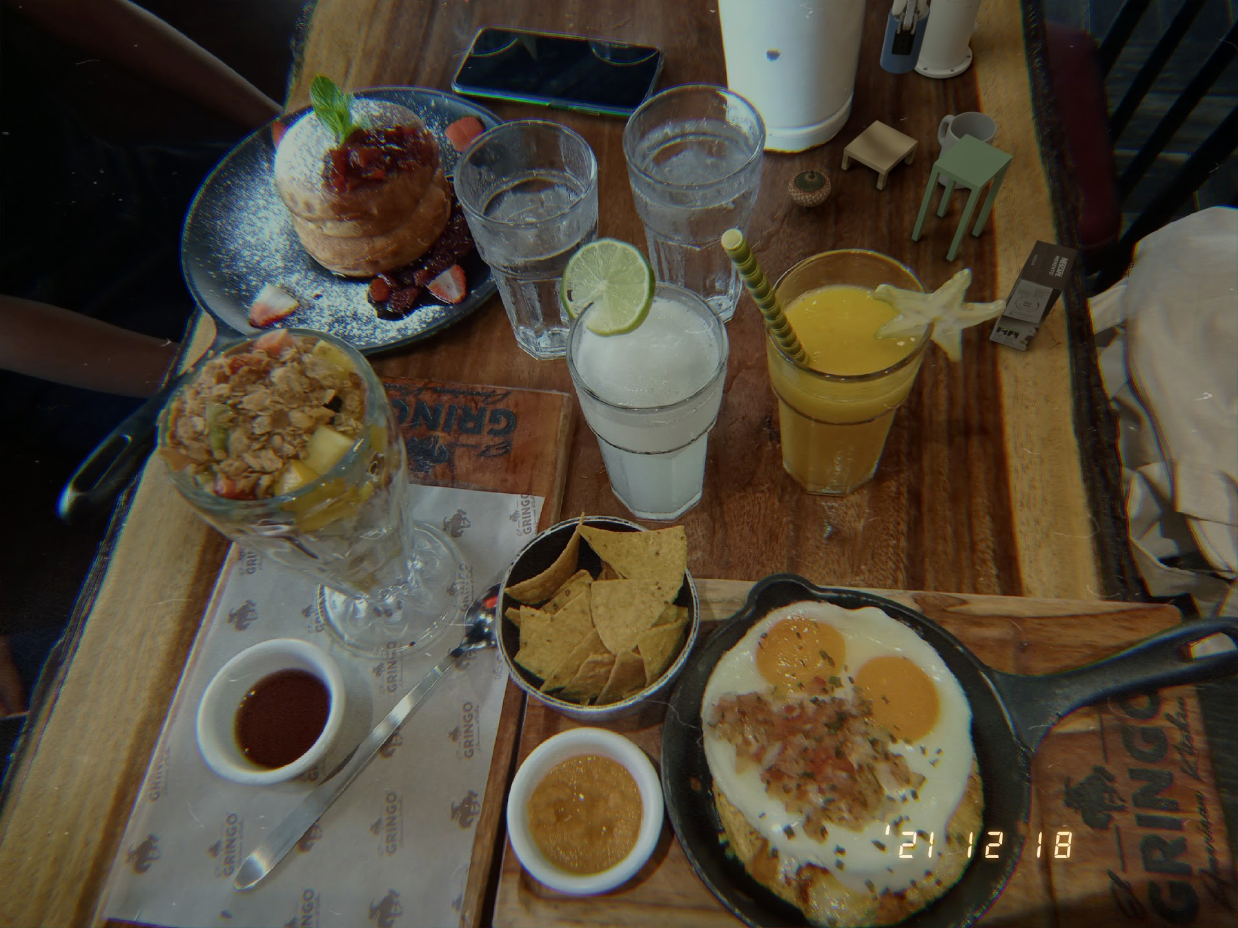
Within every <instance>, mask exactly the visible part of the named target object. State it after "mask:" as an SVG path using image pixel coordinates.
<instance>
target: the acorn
mask: <svg viewBox="0 0 1238 928" xmlns="http://www.w3.org/2000/svg"><path fill="white" fill-rule="evenodd" d="M831 183H832V182H831V180H830V178H829V177H828V176H827V175H826V174H824V173H823V172H821V171H819V170H815V169H811V170H809V169H808V170H807V169H806V170H802V171H798V172H796V173H795V174H794V175H793V176H792V177H791V178H790V180H789V181H788V185H787V194H788V196H789V198H790V199H791V200H792V201H793V202H794V204H796V205H798V206H799V207H803V212H807V211H809V210H810V209H811V208H813V207H817V206H818V205H821V204H822V203H823V202H825V201H826V200H827V198H828V197H829V195H830V194H831V191H832V184H831Z"/></svg>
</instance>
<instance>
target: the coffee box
mask: <svg viewBox="0 0 1238 928" xmlns="http://www.w3.org/2000/svg"><path fill="white" fill-rule="evenodd" d="M1078 252H1079V251H1078V250H1077V249H1075V248H1071V247H1067V246H1063V245H1059V244H1055V243H1051V242H1050V243H1049V242H1047V241H1042V240H1040V239H1036V241H1035V243H1034V244H1033V247H1032V248H1031V250H1030V252H1029V254H1028V256H1027V258H1026V260H1025V262H1024V264H1023V266H1022V268H1021V270H1020V271H1019V274H1018V276H1017V278H1016V279H1015V282H1014V284H1013V286H1012V288H1011V290H1010V291H1009V294H1008V296H1007V297H1006V300H1005V301H1006V309H1005V310H1004V312H1003V313H1002V314H1001V315H1000V314H999V315H1000V316H999V315H998V318H997V320H996V322H995V324H994V326H993V329H992V332H991V335H990V336H989V341H992V342H995V343H998V344H1001V345H1004V346H1007V347H1011V348H1014V349H1016V350H1019V351H1023V352H1025V351H1026V350H1027V349H1028V347H1029V346H1030V345H1031V344H1032V343H1031V342H1032V341H1033V340H1034V338H1035V336H1036V335H1037V333H1038V331H1039V330H1040V328H1041V327H1042V325H1043V323H1044V322H1045V320H1046V319H1047V317H1048V315H1049V314H1050V312H1051V311H1052V310H1053V307H1054V306H1055V305H1056V303H1057V301H1058V299H1059V298H1060V296H1061V295H1062V293H1063V292H1064V291H1065V288H1066V286H1067V282H1068V280H1069V277H1070V275H1071V270H1072V268H1073V266H1074V262H1075V260H1076V258H1077V255H1078Z"/></svg>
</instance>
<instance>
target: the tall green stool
mask: <svg viewBox="0 0 1238 928" xmlns="http://www.w3.org/2000/svg"><path fill="white" fill-rule="evenodd" d="M1013 158H1014V156H1013V155H1012V154H1009V153H1007V152H1005V151H1004V150H1001V149H999V148H997V147H996V146H993V145H989V144H987V143H985V142H983V141H981V140H979V139H977V138H975V137H973V136H970V135H968V134H966V135H964V136H963V137H962V138H961V139H960V140H959V141H958V142H957V143H956V144H955V145H954V146H952V147H951V148H950V149H949V150H948V151H947V152H946V153H945V154H944V155H943V156H942V157H940V158H939V157H938V159H937V160H936V161H935V162H934V163H933V164H932V168H931V172H930V175H929V179H928V181H927V184H926V185H927V186H926V189H925V192H924V196H923V199H922V202H921V204H920V208H919V211H918V215H917V218H916V222H915V224H914V229H913V231H912V235H911V240H913V241H915V242H918V240H920V238H921V236H922V233H923V230H924V226H925V223H926V221H927V218H928V215H929V212H930V208H931V205H932V202H933V198H934V196H935V191H936V190H937V186H938V183H939V181H938V180H939V177H940V174H943V175H945V176H947V177H949V179H948V182H947V185H946V186H945V188H944V190H943V195H942V198H941V200H940V204H939V205H938V206H939V207H938V210H937V212H936V215H937V216H939V217H940V218H943V217H944V216H945V215H946V214H947V212H948V208H949V206H950V203H951V201H952V197H953V195H954V194H953V193H954V191H955V189H954V188H955V185H956V183H957V182H958V183H960V184H962V185H964V186H966V187H967V189H970V190H971V192H970V194H969V197H968V200H967V202H966V205H965V208H964V210H963V213H962V215H961V219H960V221H959V223H958V226H957V229H956V230H955V231H956V232H955V233H954V237H953V239H952V242H951V245H950V248H949V250H948V254H947V256H946V258H945V259H947V261H949V262H953V261H954V260H955V259H956V258H957V256H958V253H959V250H960V248H961V245H962V243H963V240H964V237H965V235H966V232H967V229H968V227H969V225H970V223H971V220H972V217H973V216H974V215H973V214H974V212H975V210H976V206H977V204H978V203H979V199H980V196H981V194H982V191H983V189H984V188H985V187H986V186H988V184H989V183H990V182H992V183H991V185H990V188H989V191H988V193H987V196H986V198H985V200H984V203H983V205H982V207H981V210H980V213H979V215H978V218H977V220H976V222H975V225H974V228H973V230H972V233H971V235H972V236H975V237H979V236H980V235H981V234H982V233H983V230H984V227H985V225H986V223H987V220H988V218H989V216H990V213H991V211H992V209H993V206H994V203H995V201H996V199H997V196H998V195H999V192H1000V190H1001V186H1002V184H1003V182H1004V180H1005V177H1006V175H1007V172H1008V170H1009V168H1010V166H1011V163H1012V161H1013Z"/></svg>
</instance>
